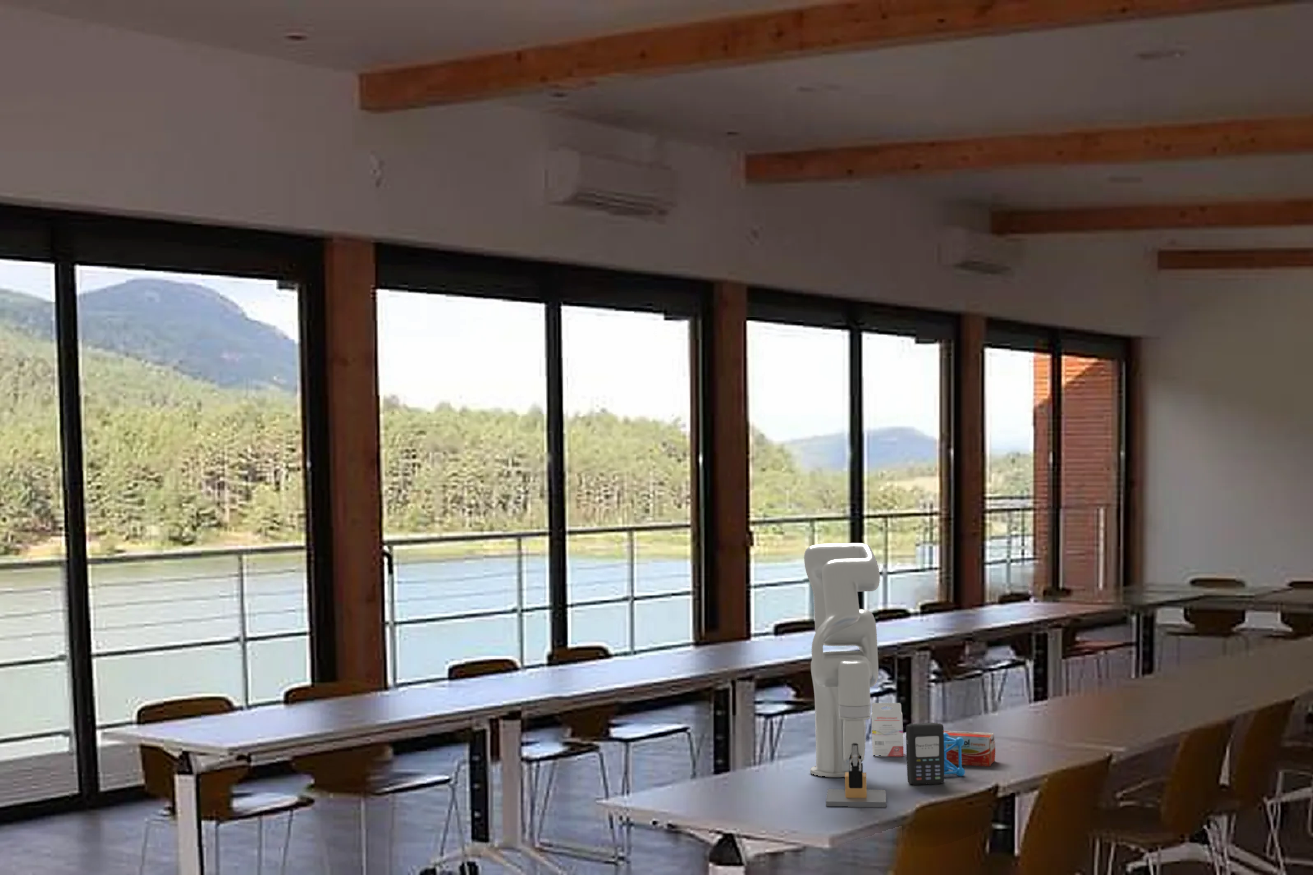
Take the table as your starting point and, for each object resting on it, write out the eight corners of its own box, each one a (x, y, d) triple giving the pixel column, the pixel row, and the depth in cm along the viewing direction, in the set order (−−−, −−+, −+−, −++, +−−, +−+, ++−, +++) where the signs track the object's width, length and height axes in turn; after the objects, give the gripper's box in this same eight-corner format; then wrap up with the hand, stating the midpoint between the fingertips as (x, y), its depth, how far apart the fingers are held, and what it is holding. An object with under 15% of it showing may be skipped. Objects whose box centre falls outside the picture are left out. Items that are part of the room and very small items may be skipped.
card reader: (910, 786, 382) (909, 725, 383) (905, 783, 386) (904, 723, 387) (945, 784, 384) (944, 724, 384) (940, 781, 388) (939, 721, 388)
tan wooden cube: (845, 793, 369) (845, 772, 370) (866, 793, 369) (866, 772, 369) (845, 797, 364) (845, 776, 365) (866, 797, 364) (866, 776, 364)
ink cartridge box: (903, 753, 426) (902, 700, 427) (903, 757, 422) (902, 703, 422) (872, 753, 428) (871, 700, 428) (872, 756, 423) (871, 703, 423)
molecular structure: (966, 776, 393) (965, 737, 393) (932, 780, 390) (931, 740, 390) (946, 769, 403) (946, 731, 403) (913, 773, 399) (912, 734, 400)
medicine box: (995, 761, 413) (995, 732, 413) (991, 767, 405) (990, 737, 406) (939, 759, 418) (938, 729, 419) (934, 764, 411) (933, 734, 411)
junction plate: (827, 794, 374) (827, 774, 374) (885, 794, 372) (885, 775, 373) (826, 806, 361) (825, 786, 361) (886, 807, 359) (885, 787, 359)
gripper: (839, 706, 376) (841, 776, 376) (837, 717, 359) (839, 791, 359) (870, 706, 375) (871, 776, 375) (870, 717, 358) (871, 791, 357)
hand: (856, 783), depth 367 cm, fingers open, 9 cm apart
